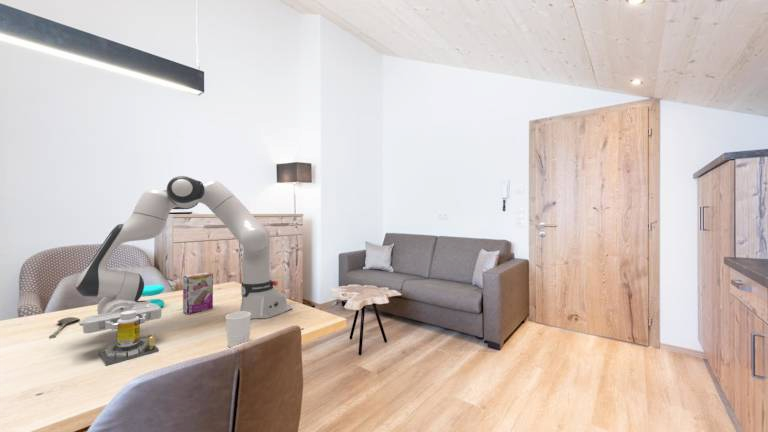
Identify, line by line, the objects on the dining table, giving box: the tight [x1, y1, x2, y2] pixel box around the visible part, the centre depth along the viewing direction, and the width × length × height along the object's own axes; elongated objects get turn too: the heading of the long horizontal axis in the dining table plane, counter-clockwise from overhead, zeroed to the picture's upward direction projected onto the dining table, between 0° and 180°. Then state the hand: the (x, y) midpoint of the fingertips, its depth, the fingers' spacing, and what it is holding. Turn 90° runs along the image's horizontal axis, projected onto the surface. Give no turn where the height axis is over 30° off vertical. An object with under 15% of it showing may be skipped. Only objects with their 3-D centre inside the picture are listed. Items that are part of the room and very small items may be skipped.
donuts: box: [141, 284, 165, 308], centre depth 150 cm, size 10×10×10 cm
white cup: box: [225, 311, 252, 348], centre depth 110 cm, size 8×8×10 cm
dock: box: [98, 334, 160, 366], centre depth 104 cm, size 13×12×5 cm
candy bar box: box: [182, 272, 214, 315], centre depth 147 cm, size 11×5×16 cm, turn 144°
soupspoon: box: [48, 316, 80, 339], centre depth 124 cm, size 22×3×7 cm
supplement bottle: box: [116, 310, 141, 347], centre depth 103 cm, size 6×6×10 cm
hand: (129, 323), depth 102 cm, fingers closed on supplement bottle, 5 cm apart
